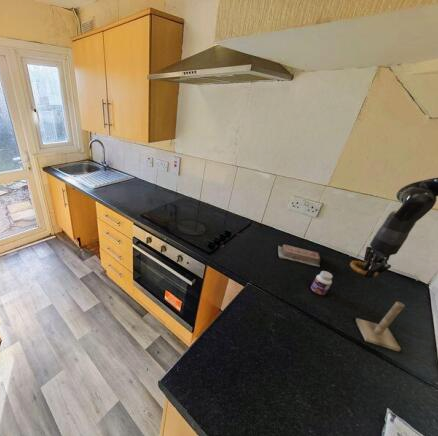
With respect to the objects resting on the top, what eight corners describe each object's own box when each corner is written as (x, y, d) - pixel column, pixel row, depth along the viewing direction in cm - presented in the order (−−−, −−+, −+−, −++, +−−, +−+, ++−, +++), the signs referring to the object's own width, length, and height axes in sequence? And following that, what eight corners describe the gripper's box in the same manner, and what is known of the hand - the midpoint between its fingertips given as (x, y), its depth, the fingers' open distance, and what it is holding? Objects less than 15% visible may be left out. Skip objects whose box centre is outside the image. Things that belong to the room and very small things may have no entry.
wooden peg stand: (384, 329, 81) (410, 298, 74) (398, 352, 74) (428, 320, 67) (354, 320, 84) (376, 289, 77) (364, 341, 76) (389, 309, 69)
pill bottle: (307, 288, 98) (315, 271, 93) (315, 285, 100) (324, 268, 95) (319, 297, 93) (329, 279, 89) (327, 294, 95) (338, 277, 91)
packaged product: (319, 250, 116) (323, 260, 108) (315, 257, 119) (319, 268, 110) (280, 240, 123) (281, 250, 114) (277, 248, 125) (278, 257, 117)
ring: (371, 266, 96) (373, 263, 95) (381, 279, 88) (383, 276, 88) (346, 261, 99) (347, 257, 98) (353, 273, 91) (355, 270, 90)
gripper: (413, 251, 76) (386, 289, 84) (392, 232, 87) (370, 267, 95) (385, 245, 78) (361, 283, 86) (368, 228, 90) (348, 262, 98)
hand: (366, 274), depth 91 cm, fingers closed on ring, 2 cm apart
